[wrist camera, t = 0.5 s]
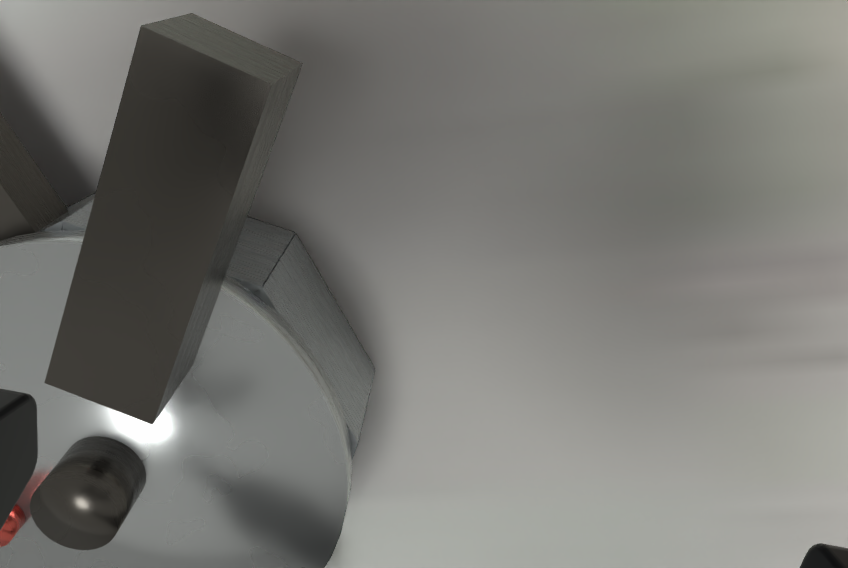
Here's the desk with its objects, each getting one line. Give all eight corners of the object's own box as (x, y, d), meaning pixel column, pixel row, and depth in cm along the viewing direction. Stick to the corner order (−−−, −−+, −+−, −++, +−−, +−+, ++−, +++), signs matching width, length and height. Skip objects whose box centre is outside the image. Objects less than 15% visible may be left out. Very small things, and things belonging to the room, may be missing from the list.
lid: (263, 677, 22) (232, 786, 20) (-142, 532, 21) (-241, 627, 18) (528, 156, 16) (540, 205, 13) (-36, -101, 15) (-165, -112, 12)
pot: (457, 510, 24) (454, 599, 21) (165, 613, 27) (121, 706, 24) (107, -92, 18) (24, -100, 15) (-234, 118, 20) (-370, 151, 17)
